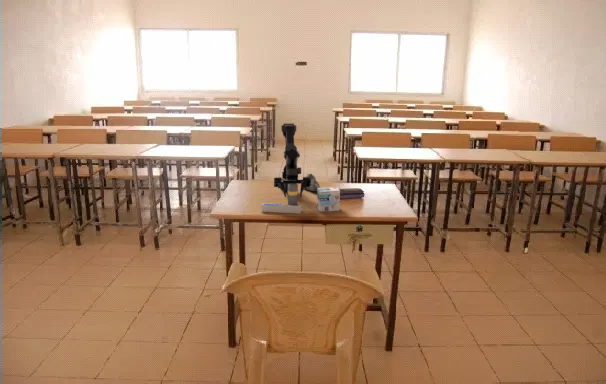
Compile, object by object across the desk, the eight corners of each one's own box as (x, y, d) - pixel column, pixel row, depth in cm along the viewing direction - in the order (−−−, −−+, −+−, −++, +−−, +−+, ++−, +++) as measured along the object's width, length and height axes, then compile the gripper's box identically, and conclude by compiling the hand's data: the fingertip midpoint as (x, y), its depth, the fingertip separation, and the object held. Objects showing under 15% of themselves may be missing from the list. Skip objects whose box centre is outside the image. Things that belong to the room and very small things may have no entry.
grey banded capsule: (285, 209, 233) (285, 184, 229) (293, 207, 236) (293, 182, 233) (292, 211, 229) (292, 186, 226) (300, 209, 232) (300, 184, 229)
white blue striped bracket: (261, 211, 229) (261, 203, 228) (263, 209, 233) (263, 201, 231) (300, 213, 226) (300, 205, 225) (301, 210, 230) (301, 203, 229)
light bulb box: (319, 212, 229) (319, 191, 226) (316, 207, 235) (316, 187, 232) (340, 210, 231) (340, 190, 228) (336, 206, 237) (337, 186, 234)
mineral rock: (320, 194, 260) (320, 177, 257) (301, 193, 260) (301, 176, 258) (320, 188, 272) (321, 171, 269) (302, 187, 273) (302, 171, 270)
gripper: (273, 161, 229) (274, 189, 222) (310, 161, 231) (312, 188, 223) (273, 173, 239) (274, 199, 231) (309, 173, 240) (311, 199, 233)
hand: (293, 196), depth 229 cm, fingers open, 7 cm apart
